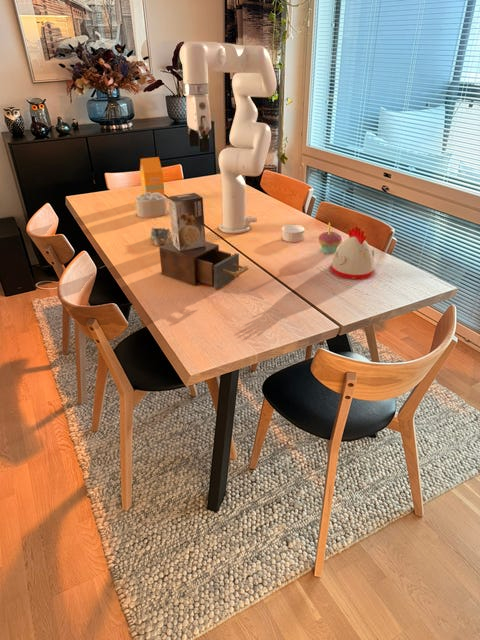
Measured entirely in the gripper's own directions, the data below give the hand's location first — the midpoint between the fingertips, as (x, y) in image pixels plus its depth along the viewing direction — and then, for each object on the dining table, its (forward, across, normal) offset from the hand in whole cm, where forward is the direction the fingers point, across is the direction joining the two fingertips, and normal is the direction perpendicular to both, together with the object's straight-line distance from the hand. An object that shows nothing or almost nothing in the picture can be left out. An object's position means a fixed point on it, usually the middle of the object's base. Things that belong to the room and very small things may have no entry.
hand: (199, 148), depth 149 cm
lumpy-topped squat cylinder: (+36, +51, +6) cm, 63 cm away
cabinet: (+36, -14, +10) cm, 40 cm away
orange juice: (+36, +69, 0) cm, 78 cm away
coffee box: (+27, -14, +10) cm, 32 cm away
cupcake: (+36, -18, -42) cm, 58 cm away
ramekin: (+36, -2, -36) cm, 51 cm away
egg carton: (+36, +18, +11) cm, 42 cm away
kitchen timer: (+36, -35, -40) cm, 64 cm away
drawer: (+35, -24, +4) cm, 43 cm away
